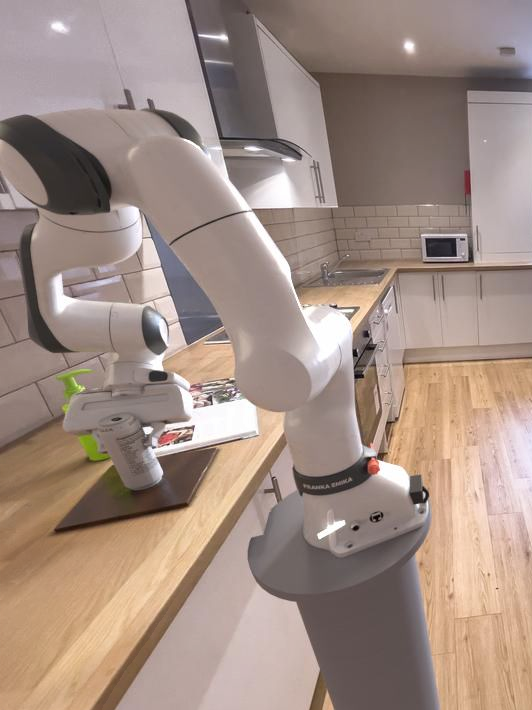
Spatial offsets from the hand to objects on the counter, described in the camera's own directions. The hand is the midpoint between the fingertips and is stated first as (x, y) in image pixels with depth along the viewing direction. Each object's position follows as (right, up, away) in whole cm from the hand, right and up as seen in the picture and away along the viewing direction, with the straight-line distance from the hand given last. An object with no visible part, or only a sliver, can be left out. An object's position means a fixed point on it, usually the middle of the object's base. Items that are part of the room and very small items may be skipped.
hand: (127, 449), depth 79 cm
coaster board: (0, -8, +4) cm, 9 cm away
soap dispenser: (-19, -3, +16) cm, 25 cm away
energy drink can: (0, -7, +4) cm, 9 cm away
